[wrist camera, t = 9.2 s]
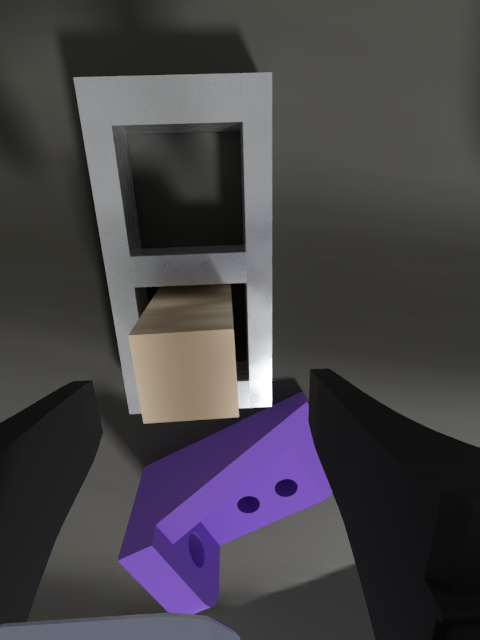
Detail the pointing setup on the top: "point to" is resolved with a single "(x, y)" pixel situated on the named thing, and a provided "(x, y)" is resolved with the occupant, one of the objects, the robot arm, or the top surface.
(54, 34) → the top surface
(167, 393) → the peg
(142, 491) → the bracket
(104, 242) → the grey rectangular frame
